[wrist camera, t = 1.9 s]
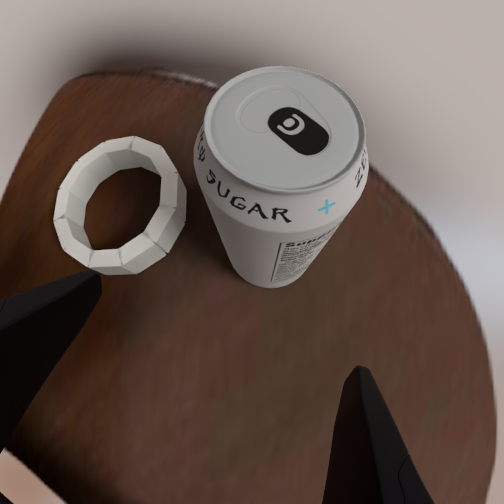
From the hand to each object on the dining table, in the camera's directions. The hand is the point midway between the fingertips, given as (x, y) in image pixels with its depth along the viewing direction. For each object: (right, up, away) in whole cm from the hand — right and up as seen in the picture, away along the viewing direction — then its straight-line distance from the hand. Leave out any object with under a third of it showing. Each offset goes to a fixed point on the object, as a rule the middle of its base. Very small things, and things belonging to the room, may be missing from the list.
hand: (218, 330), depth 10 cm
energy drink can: (+2, +3, +14) cm, 14 cm away
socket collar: (-9, +6, +15) cm, 18 cm away
